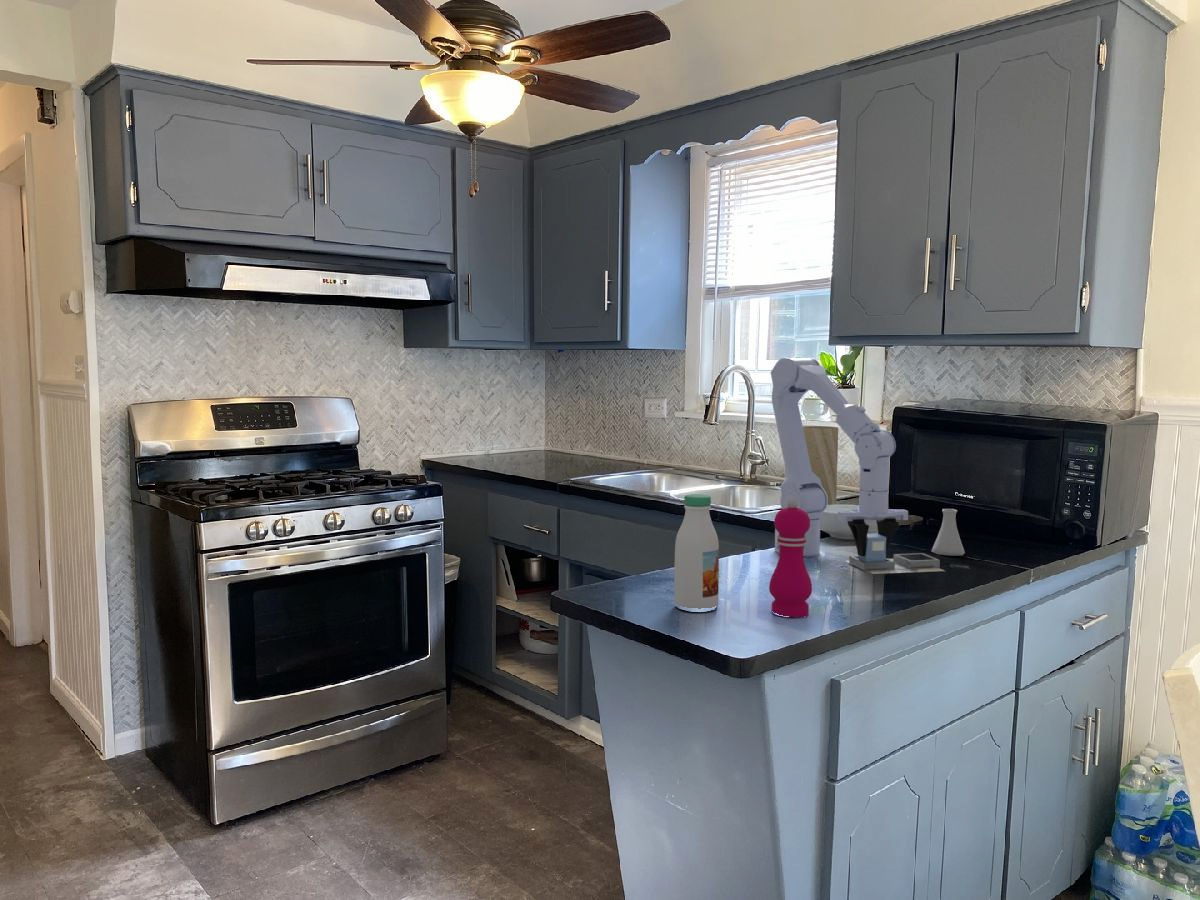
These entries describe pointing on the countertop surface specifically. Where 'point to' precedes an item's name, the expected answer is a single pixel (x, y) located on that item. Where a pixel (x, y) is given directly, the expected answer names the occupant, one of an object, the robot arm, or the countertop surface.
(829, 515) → the cereal bowl
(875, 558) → the plug
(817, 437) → the tapered wooden vase
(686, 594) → the milk bottle
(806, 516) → the pepper mill
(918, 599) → the countertop surface
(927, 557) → the panel
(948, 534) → the flask
